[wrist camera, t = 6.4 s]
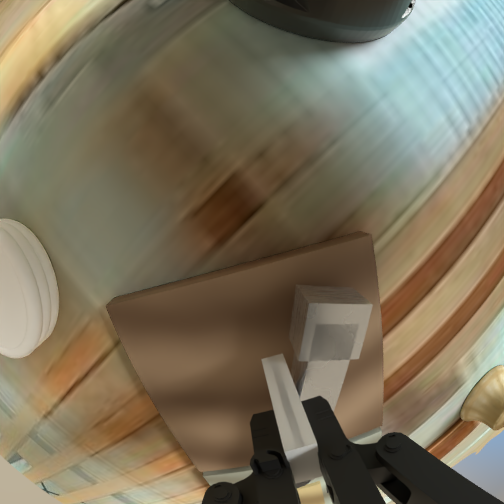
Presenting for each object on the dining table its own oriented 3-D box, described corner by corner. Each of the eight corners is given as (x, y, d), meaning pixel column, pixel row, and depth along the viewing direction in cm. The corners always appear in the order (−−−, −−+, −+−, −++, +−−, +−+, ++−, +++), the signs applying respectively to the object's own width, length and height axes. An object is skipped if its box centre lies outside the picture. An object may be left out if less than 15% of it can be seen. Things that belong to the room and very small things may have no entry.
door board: (114, 297, 17) (89, 321, 13) (360, 231, 17) (391, 241, 13) (250, 522, 24) (252, 544, 20) (370, 491, 24) (379, 511, 20)
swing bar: (305, 457, 18) (315, 490, 14) (261, 460, 18) (265, 495, 14) (353, 286, 15) (384, 310, 12) (291, 283, 15) (309, 310, 11)
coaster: (-24, 298, 16) (-47, 311, 13) (-7, 196, 15) (-37, 199, 11) (51, 362, 18) (30, 385, 14) (77, 259, 16) (49, 273, 13)
